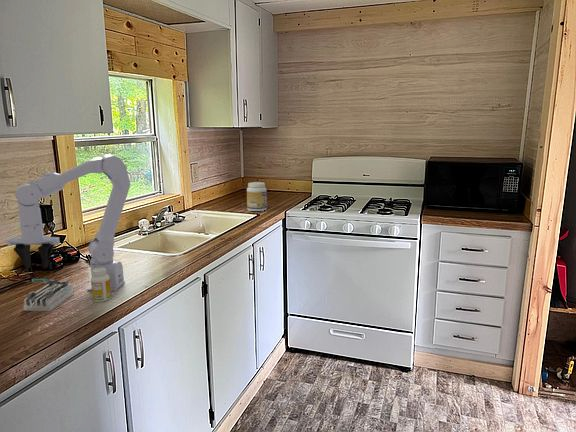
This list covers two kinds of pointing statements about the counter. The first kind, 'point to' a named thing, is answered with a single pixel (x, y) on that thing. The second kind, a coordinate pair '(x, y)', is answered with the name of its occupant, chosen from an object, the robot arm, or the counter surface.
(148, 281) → the counter surface
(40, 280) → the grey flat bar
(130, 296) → the counter surface
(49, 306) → the heat sink
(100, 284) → the supplement bottle
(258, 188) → the supplement tub
